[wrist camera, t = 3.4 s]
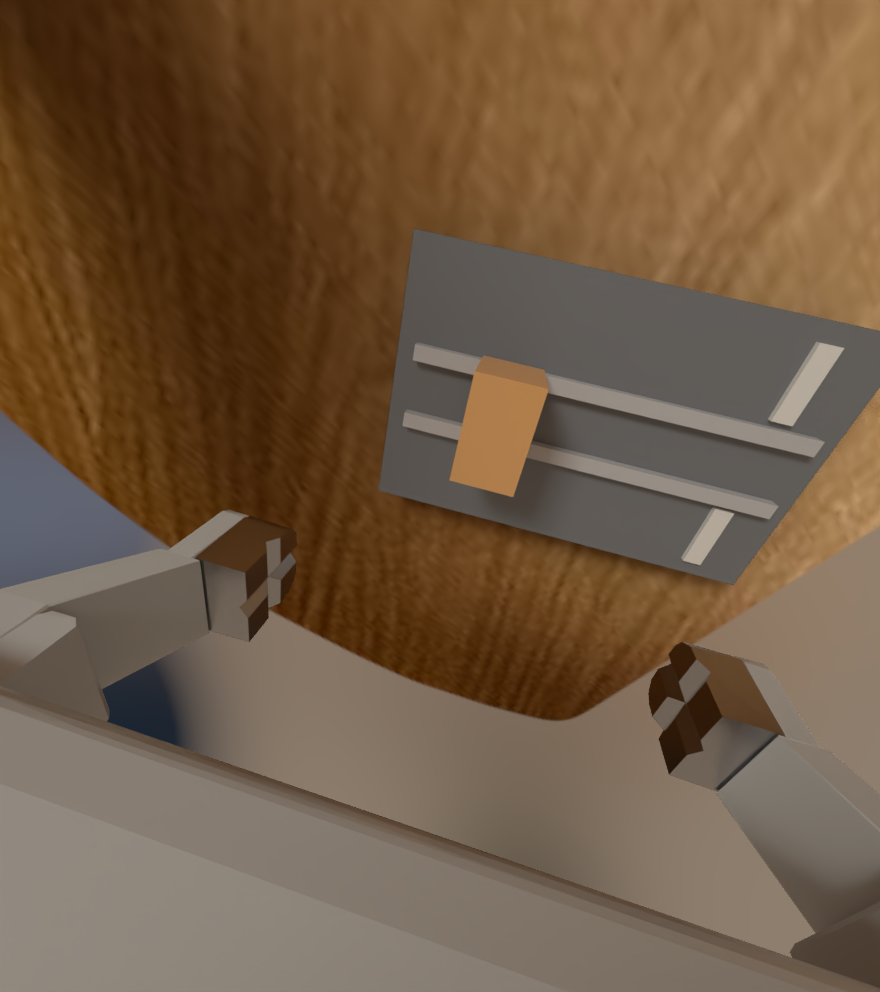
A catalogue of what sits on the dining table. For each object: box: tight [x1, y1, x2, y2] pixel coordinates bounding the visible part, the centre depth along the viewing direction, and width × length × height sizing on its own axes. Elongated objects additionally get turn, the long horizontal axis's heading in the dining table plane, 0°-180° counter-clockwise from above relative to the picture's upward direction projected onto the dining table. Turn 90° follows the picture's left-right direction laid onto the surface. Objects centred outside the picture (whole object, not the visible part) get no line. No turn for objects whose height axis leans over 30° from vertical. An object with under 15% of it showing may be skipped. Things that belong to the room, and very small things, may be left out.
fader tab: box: [449, 356, 549, 497], centre depth 19 cm, size 3×5×5 cm, turn 169°
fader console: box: [379, 229, 880, 585], centre depth 22 cm, size 22×14×4 cm, turn 79°
